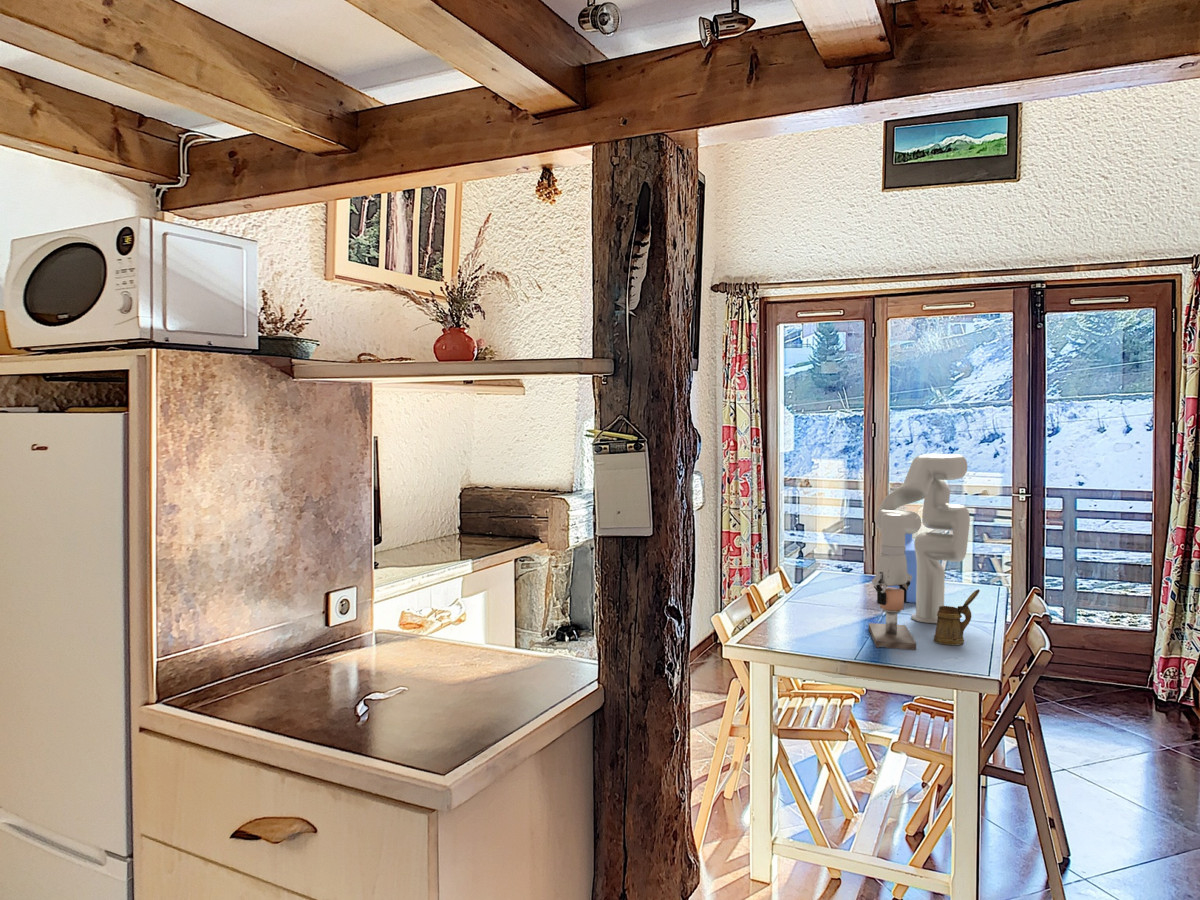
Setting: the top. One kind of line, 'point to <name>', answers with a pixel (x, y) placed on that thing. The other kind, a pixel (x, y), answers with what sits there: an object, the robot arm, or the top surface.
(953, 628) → the wooden mug
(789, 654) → the top surface
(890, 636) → the base board
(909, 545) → the water jug
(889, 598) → the cap
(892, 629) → the threaded post
